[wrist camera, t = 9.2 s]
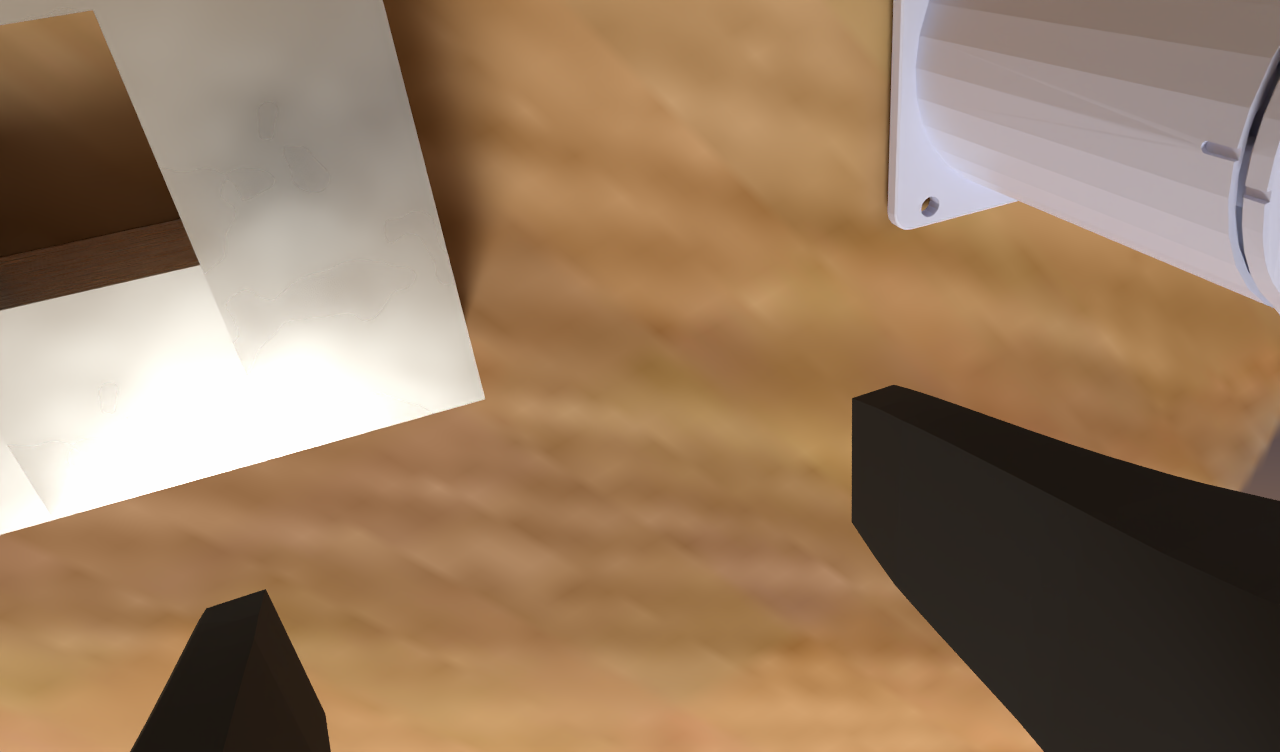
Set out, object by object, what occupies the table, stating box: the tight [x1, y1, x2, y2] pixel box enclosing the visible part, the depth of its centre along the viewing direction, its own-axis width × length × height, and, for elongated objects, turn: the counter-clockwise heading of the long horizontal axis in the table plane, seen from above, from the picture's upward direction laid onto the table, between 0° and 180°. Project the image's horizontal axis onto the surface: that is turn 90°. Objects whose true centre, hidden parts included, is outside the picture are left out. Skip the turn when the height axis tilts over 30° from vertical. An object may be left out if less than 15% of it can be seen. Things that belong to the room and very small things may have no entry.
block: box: [0, 0, 485, 535], centre depth 14 cm, size 12×12×3 cm
